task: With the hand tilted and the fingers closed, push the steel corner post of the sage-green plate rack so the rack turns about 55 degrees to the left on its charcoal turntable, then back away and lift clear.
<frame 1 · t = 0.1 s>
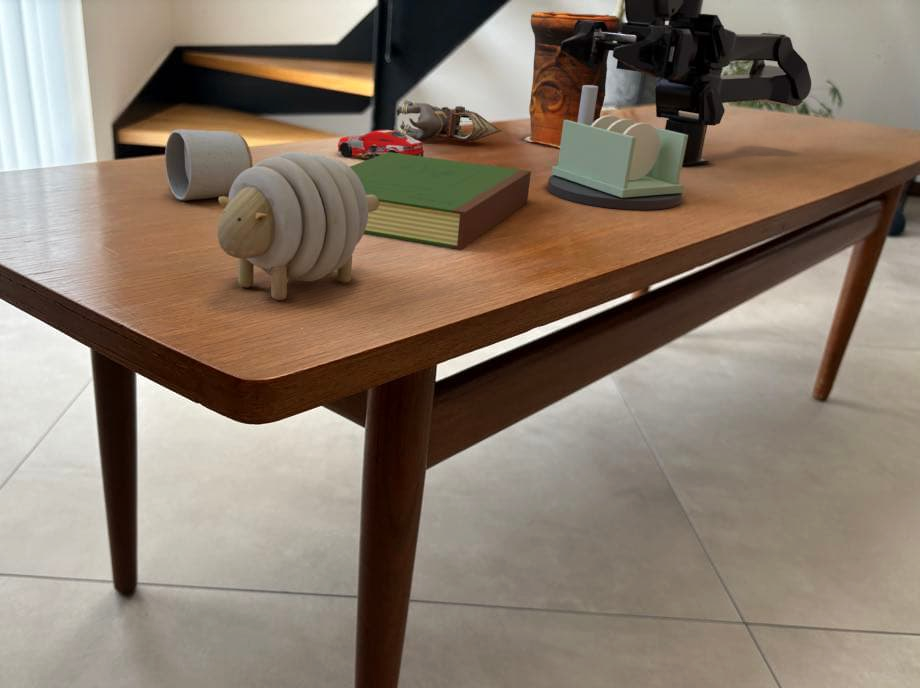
hand: (587, 49, 117), 17 cm above the table, tool horizontal, fingers open, 9 cm apart
vessel: (558, 143, 149), on the table
ceramic mug: (203, 196, 103), on the table
toy sheep: (302, 286, 76), on the table
hardcover book: (420, 212, 102), on the table
figurine: (447, 142, 145), on the table
dish rack: (618, 138, 112), point 7 cm above the table, hinge at 0.0°
race car: (379, 160, 128), on the table
turntable: (613, 194, 115), on the table
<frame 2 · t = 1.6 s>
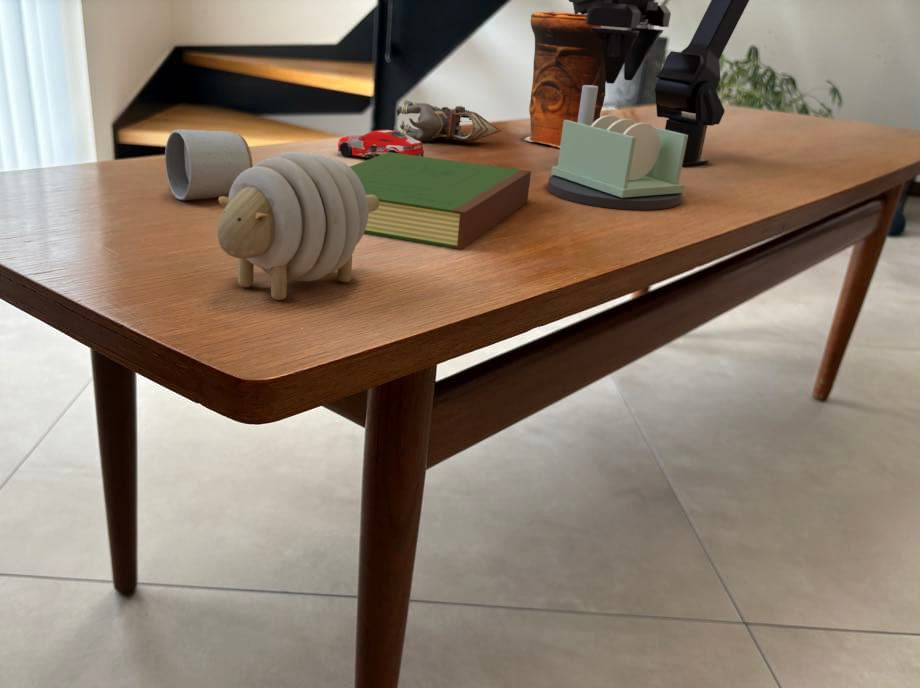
hand: (619, 81, 126), 12 cm above the table, tool pointing down, fingers open, 8 cm apart
nothing on the table moved.
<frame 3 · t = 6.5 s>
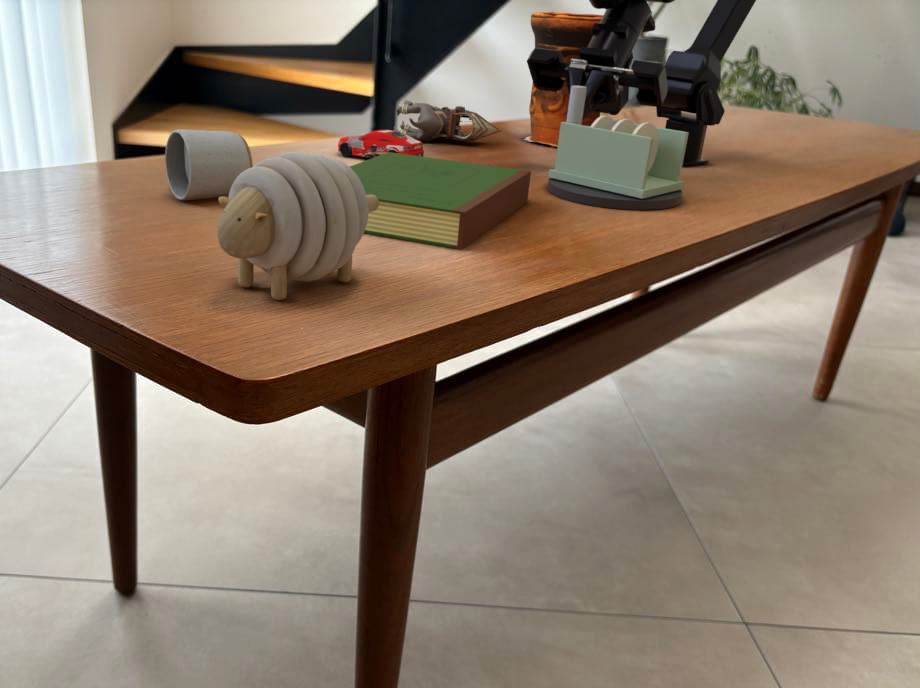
hand: (570, 126, 117), 7 cm above the table, tool tilted 45°, fingers closed, pressing on dish rack
dish rack: (617, 138, 112), point 7 cm above the table, hinge at 16.6°, touching gripper
everything else where it was.
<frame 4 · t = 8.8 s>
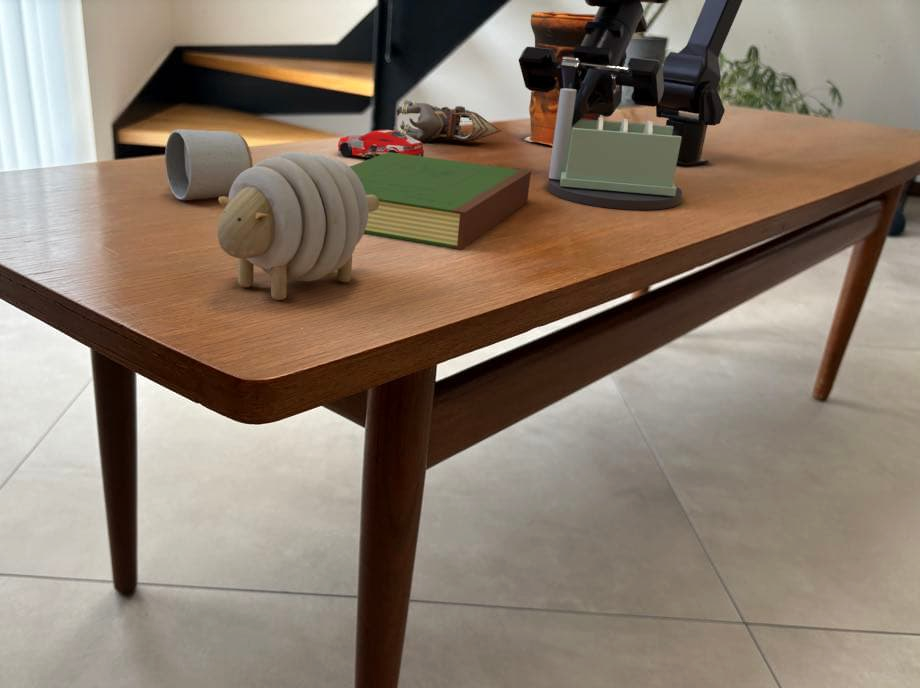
hand: (565, 125, 114), 8 cm above the table, tool tilted 45°, fingers closed, pressing on dish rack
dish rack: (616, 139, 112), point 7 cm above the table, hinge at 52.2°, touching gripper
everything else where it was.
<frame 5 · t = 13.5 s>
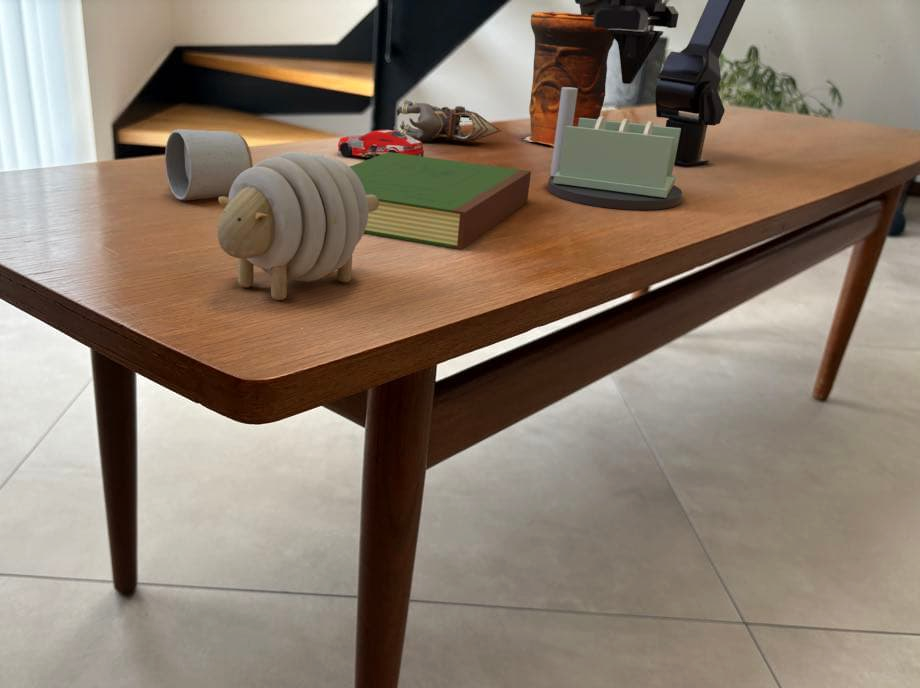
hand: (626, 83, 124), 12 cm above the table, tool pointing down, fingers closed
dish rack: (616, 138, 112), point 7 cm above the table, hinge at 39.6°
everything else where it was.
at the end: dish rack at +40° (first picture: +0°); figurine moved 0.2 cm from its start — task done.
